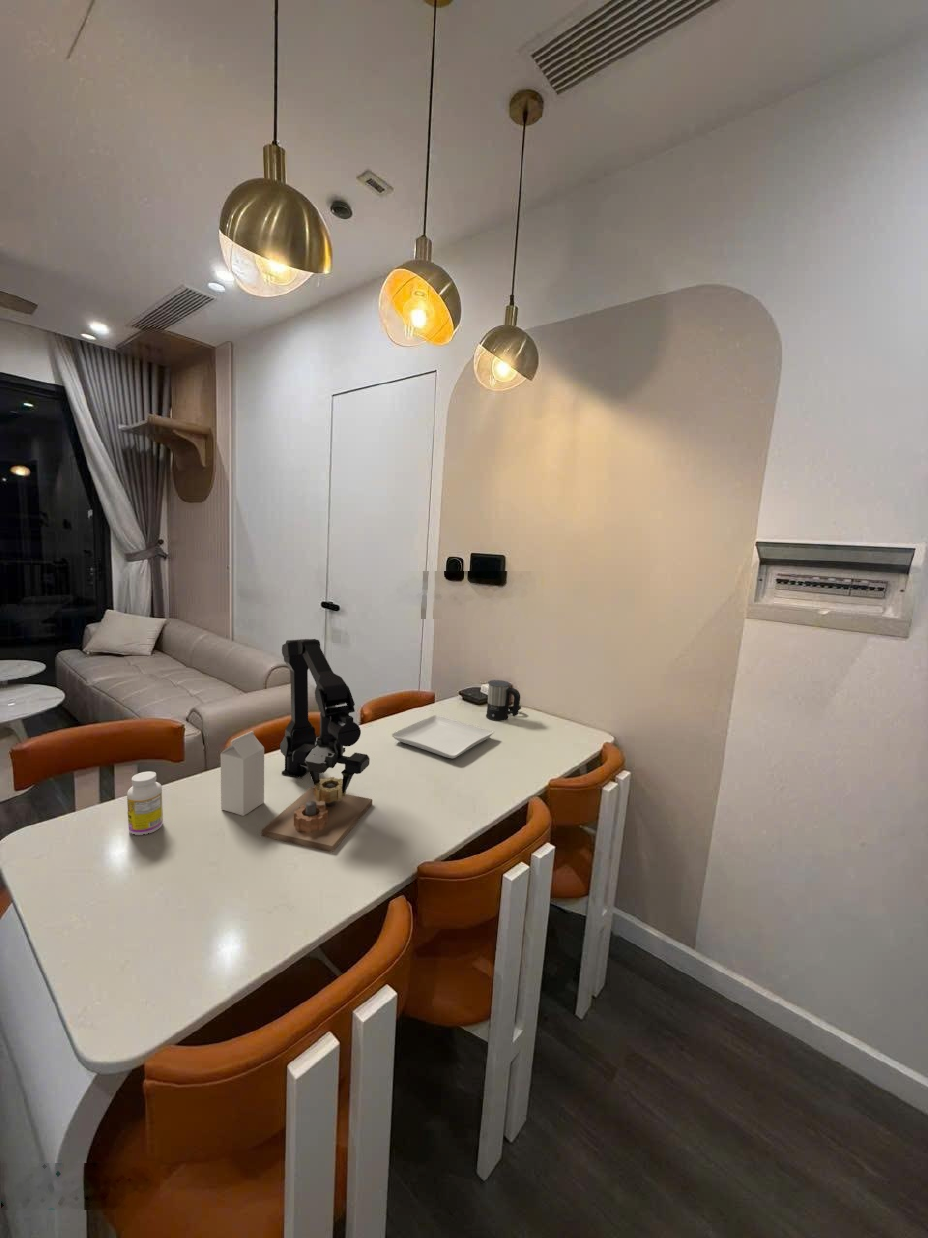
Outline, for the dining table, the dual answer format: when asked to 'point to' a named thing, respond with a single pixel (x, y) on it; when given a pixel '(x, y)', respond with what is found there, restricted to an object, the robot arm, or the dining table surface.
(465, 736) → the square plate
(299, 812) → the gear board
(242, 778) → the milk carton
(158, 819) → the supplement bottle
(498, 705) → the milk frother
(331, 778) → the wooden gear
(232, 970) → the dining table surface
